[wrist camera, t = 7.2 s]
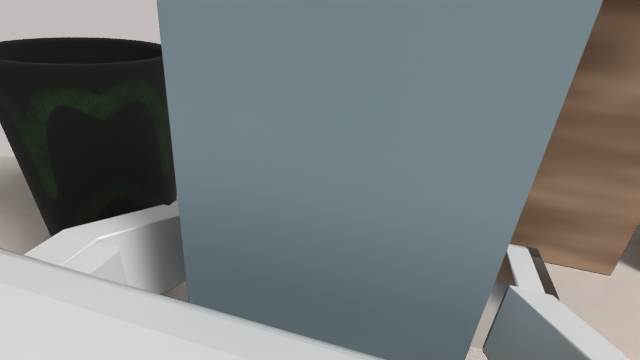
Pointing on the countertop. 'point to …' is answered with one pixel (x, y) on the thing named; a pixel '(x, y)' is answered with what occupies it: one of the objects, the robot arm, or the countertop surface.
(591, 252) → the shelf
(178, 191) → the grey-blue rectangular block
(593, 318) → the countertop surface
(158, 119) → the cup
